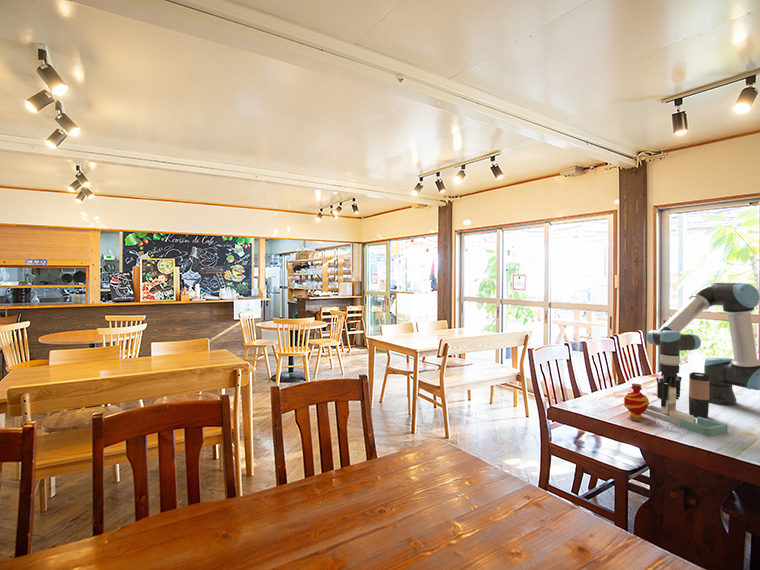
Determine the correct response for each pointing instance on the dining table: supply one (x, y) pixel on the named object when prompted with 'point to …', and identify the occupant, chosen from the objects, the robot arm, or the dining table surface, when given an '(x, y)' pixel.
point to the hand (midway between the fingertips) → (668, 412)
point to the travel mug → (698, 394)
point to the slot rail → (661, 416)
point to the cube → (686, 417)
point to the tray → (709, 430)
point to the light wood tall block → (671, 399)
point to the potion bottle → (636, 401)
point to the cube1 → (674, 413)
